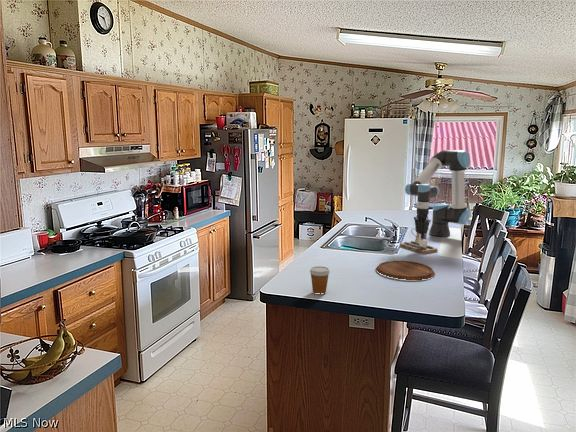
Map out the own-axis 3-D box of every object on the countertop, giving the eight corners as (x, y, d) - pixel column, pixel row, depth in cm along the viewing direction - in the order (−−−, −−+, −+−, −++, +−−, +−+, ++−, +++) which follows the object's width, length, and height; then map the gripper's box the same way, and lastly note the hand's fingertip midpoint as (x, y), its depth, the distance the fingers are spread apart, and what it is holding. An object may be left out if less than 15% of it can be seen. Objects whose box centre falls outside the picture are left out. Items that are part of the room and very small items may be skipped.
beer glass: (308, 289, 225) (308, 266, 223) (327, 289, 226) (327, 265, 223) (310, 296, 215) (311, 272, 213) (330, 295, 216) (331, 271, 214)
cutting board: (402, 285, 233) (402, 280, 232) (364, 268, 260) (364, 264, 260) (447, 276, 247) (448, 272, 247) (407, 261, 275) (407, 257, 274)
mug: (429, 241, 323) (430, 227, 321) (426, 244, 315) (427, 229, 313) (412, 239, 329) (413, 225, 327) (408, 242, 321) (409, 227, 319)
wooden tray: (399, 246, 309) (399, 241, 309) (412, 244, 315) (413, 239, 314) (423, 254, 290) (424, 249, 290) (437, 251, 296) (437, 247, 295)
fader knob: (419, 246, 299) (419, 239, 298) (423, 246, 301) (424, 238, 300) (422, 248, 296) (423, 240, 295) (427, 247, 298) (427, 239, 297)
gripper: (411, 206, 299) (409, 241, 304) (426, 209, 288) (423, 246, 293) (419, 206, 303) (417, 240, 307) (434, 209, 292) (432, 244, 296)
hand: (420, 243), depth 300 cm, fingers closed
